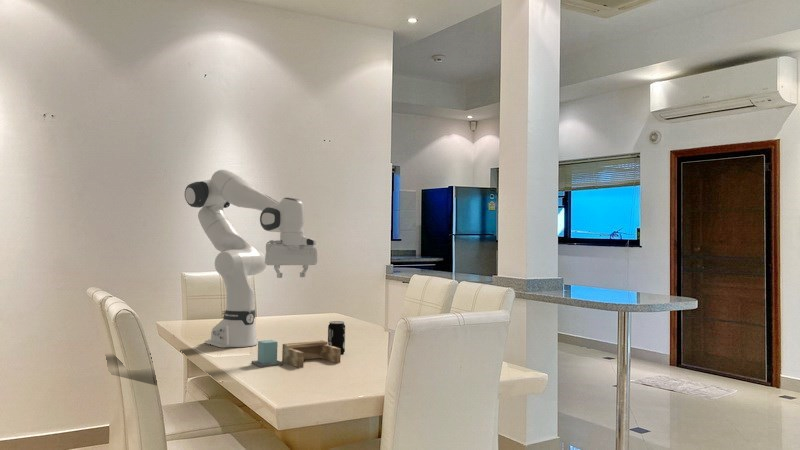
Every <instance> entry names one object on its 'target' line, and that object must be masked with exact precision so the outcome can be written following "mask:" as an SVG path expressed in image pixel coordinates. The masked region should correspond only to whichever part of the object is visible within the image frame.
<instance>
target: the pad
mask: <svg viewBox="0 0 800 450" xmlns="http://www.w3.org/2000/svg"><path fill="white" fill-rule="evenodd" d="M251 364H252V365H255V366H257V367H259V368H266V367H268V368H269V367H276V366H283V365H284V361H280V360H278V359H277V362H275V363H266V364H263V363H260V362H258V359H256V360H252V361H251Z"/></svg>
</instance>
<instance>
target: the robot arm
mask: <svg viewBox="0 0 800 450" xmlns="http://www.w3.org/2000/svg"><path fill="white" fill-rule="evenodd" d="M184 190H185V191H184V199H185V201H186V203H187V205H188V206H190V207H192V208H196V209H197V208H198V209H199V208H200V209H199V211H198V213H197V219H198V220H199V221H198V222H199V223H200V226H201V228H202V230H203V231H204V234H206V237H207V238H208V239H209V241H210V242H211V245H213V247H214V248H215V249H216V250H217V251H218V252H220V253H218V254H217V255H216V256H215V259H214V268H215V271H216V272H217V273H218V274H219V276H220V277H222V280H223V282H224V286H225V292H226V310H224V311H223V310H222V315H223V317H222V318H223V319H222V320H221V321H219V322H218V323H217V324H216V325H215V326H213V327H212V328H211V334H210V338H209V339H206V340H204V344H207V345H210V344H211V346H214V347H219V348H245V347H252V346H258V341H259V340H258V338H257V329H256V322H255V319H256V309H255V295H256V294H255V293H256V292H255V290H254V288H252V286H251V285H250V283H249V280H248V276H249V277H250V276H255V275H258V274H260V273H262V272H264V270H265V269H266V268H267V266H273V269H274V270H275V273H276V278H278V279H282V278H283V272H281V270H280V268H281V266H302V271H301V272H299V277H300V278H305V277H306V273H307V271H308V270H309V266H316V265H317V263H318V249H317V247H316V245H317V241H316V240H315V239H312V238H310V237H307V236H305V230H304V225H305V205H304V202H303V200H301V199H299V198H293V197H283V198H282V199H281V200H280V201H277V200H276V199H273V198H272V197H270V196H268V195H267V194H265V193H264V192H262V190H261V191H260V190H259V189H258V188H257V187H255V186H253V185H252V184H250V183H249V182H248V181H246V180H245V179H243V178H242V177H240V176H239V175H237V174H236V173H233V172H231V171H229V170H226V169H219V170H217V171H215V172H214V173H213V174H212V175H211V178H210V179H207V180H201V181H193V182H192V183H189V184H187V186H186V187H185V189H184ZM230 205H233V206H235V207H238V208H244V209H251V210H252V209H253V210H258V211H260V216H259V222H260V226H261V227H262V229H263V230H264V231H266V232H273V233H280V235H279V236H280V237H279V239H278V240H274V239H273V240H269V241H267V243H266V244H265V251H266V252H265V254H264V253H263V252H262V251H260V250H258V249H257V248H255V247H254V246H253V245H252V244H250V243H249V242H248V241H247V240H246V239H245V238H244V237H243V236H241V234H240V233H239V232H238V230H237V229H236V228H235V227H234V225H233V224H232V222H231V221H230V219H229V218H228V216H227V215H226V214H225V212H224V208H225V209H226V208H227V209H228V207H230Z"/></svg>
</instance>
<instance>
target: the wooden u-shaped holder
mask: <svg viewBox="0 0 800 450" xmlns="http://www.w3.org/2000/svg"><path fill="white" fill-rule="evenodd" d="M281 353H282V355H281V357H282V358H281V360H282V361H281V362H283V363H287V364H289V365H291V366H294V367H296V368H300V369H301V368H304V361H305V360H310V359H318V358H319V359H320V358H321V359H324V360H326V361H329V362H332V363H334V364H340V363H341V355H342V354H341V348H337V347H334V346H331V345H328V341H327V340H322V339H321V340H311V341H310V340H309V341H303V342H302V341H301V342H291V343H282V351H281Z"/></svg>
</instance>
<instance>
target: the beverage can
mask: <svg viewBox="0 0 800 450" xmlns="http://www.w3.org/2000/svg"><path fill="white" fill-rule="evenodd" d="M328 323H329V324H328V326H327V345H331V346H334V347H337V348H341V355H343V354H344V353H345V351H346V347H345V346H346V325H345V322H344V321H341V320H334V321H329V322H328Z"/></svg>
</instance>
